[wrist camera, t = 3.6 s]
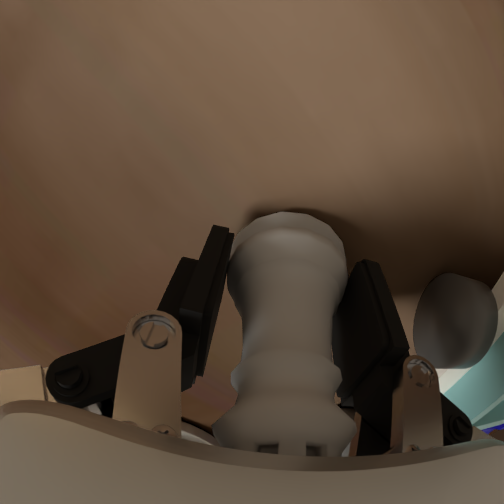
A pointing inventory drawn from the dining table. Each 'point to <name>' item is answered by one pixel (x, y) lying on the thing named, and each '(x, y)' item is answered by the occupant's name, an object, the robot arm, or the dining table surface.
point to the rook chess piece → (286, 339)
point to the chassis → (463, 345)
